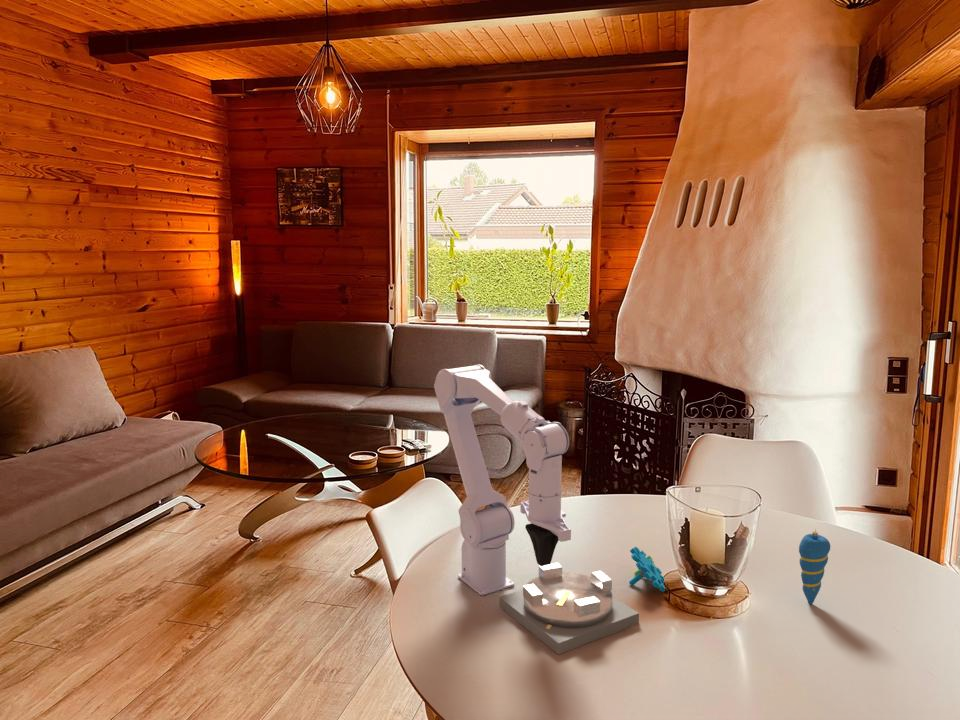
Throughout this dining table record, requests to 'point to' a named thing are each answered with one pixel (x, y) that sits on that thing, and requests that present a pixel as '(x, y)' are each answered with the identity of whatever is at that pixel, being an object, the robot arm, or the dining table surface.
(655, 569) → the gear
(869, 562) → the dining table surface
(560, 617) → the lugged metal disc
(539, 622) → the base plate
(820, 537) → the ornament
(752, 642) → the dining table surface
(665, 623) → the dining table surface
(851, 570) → the dining table surface
